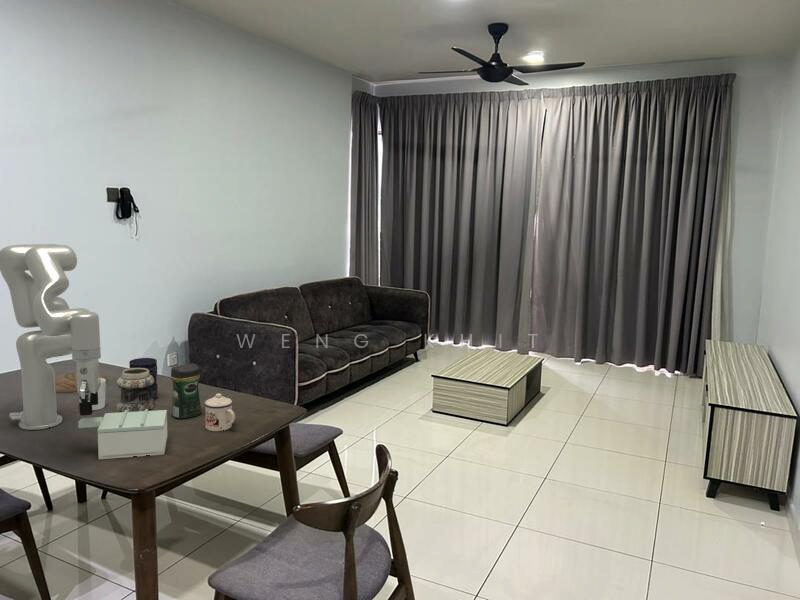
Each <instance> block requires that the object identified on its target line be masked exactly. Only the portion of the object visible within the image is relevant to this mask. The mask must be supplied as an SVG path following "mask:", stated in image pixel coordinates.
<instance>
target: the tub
mask: <svg viewBox="0 0 800 600" xmlns="http://www.w3.org/2000/svg"><path fill="white" fill-rule="evenodd" d="M167 441H168V414H167V415H166V420H165V425H164V429H150V430H135V431H119V432H103V433H98V432H97V445H98V446H97V448H98V450H97V451H98V453H97V454H98V460H108V459H123V458H134V457H133V456H137V457H147V456H146V455H150V456H161V455H165V452H166V447H167V446H166V445H167Z"/></svg>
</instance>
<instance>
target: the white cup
mask: <svg viewBox="0 0 800 600" xmlns="http://www.w3.org/2000/svg"><path fill="white" fill-rule="evenodd" d="M100 379H101V386H100V388H99V389H98V391H97V392H98V404H97V405H92V411H98V410H101V409H104V408H105V407H106V390H107V389H106V385H107V383H106V380H105V379H103V378H100Z"/></svg>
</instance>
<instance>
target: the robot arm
mask: <svg viewBox="0 0 800 600" xmlns="http://www.w3.org/2000/svg"><path fill="white" fill-rule="evenodd" d="M77 264H78V258H77V254H76V253H75V251H74V249H73V248H71V247H70V246H69V245H66V244H65V245H64V244H55V243H54V244H53V243H44V244H43V243H42V244H41V243H40V244H39V243H38V244H36V243H35V244H13V245H8V246H4V247H3V248H1V249H0V273H1V276H2V278H3V280H4V282H5V283H6V285H7V287H8V290H9V293H10V299H11V303H12V308H13V312H14V316H15V320H16V322H17V324H18V326H19V327H21V328H27V329H29V328H39V330H33V331H28V332H25V333H22V334H20V335H19V336H18V337H17V338H16V342H15V346H16V352H17V354H18V355H17V356H18V359H19V364H20V373H21V374H20V375H21V388H22V390H21V391H22V392H21V393H22V407H23V410H22V411H19V412H9V415H8V417H9V419H11V421H17V420H18V421H19V422H18V427H19V428H21V429H23V430H26V431H27V430H29V431H31V430H32V431H34V430H37V431H38V430H45V429H49V427H50V428H52V427H55V426H59V425H60V424H61V423H62V422H63V416H62V415H60V414H58V413H57V412H58V409H57V394H56V385H55V375H56V372H55V370H54V367H53V366H52V365H50V363H49V362H47V360H48V359H52V358H57V357H58V358H59V357H64V356H67V355H71V359H72V361H73V362H75V363H76V364H75V365H76V367H75V369H76V371H75V372H76V375H77V391H78V393H77V394H79V400H78V401H79V402H78V404H79V406H78V407H79V415H80V416H84V417H85V416H92V415H93V410H92V405H97V404H98V392H97V391H98V389H99V388H100V386H101V379H100V374H101V372H100V370H101V369H100V362H99V360H100V359H102V356H101V355H102V354H101V335H100V318H99V315H98V313H97V312H93V311H90V310H89V309H88V308H83V307H77V308H70V306H69V304H68V302H67V301H66V299H64V298H63V297H60V295H62V294H63V293H65V292H66V291H67V289H68V288H69V286H70V281H69V278H68V277H67V274H66V273H65V272H70V271H73V270H75V269H76V268H77ZM26 271H29V273H30V274H31V275H30V274H29V273H28V272H26Z"/></svg>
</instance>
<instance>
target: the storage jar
mask: <svg viewBox="0 0 800 600" xmlns="http://www.w3.org/2000/svg"><path fill="white" fill-rule="evenodd" d="M157 360H158V359H156V358H154V357H141V358H140V357H138V358H133V359H131V360H129V361H128V364H129V368H128V369H130V368H146V369H148V370H149V373H150V375H151V376H152V377H153V378H154V384H153V385H152V386H151V398H152V399H153V400H154V401H155V402H156V401H157V400H158V392H159V391H158V387H159V385H158V383H157V378H158V377H157V376H158V364H157V362H158V361H157Z"/></svg>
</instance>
